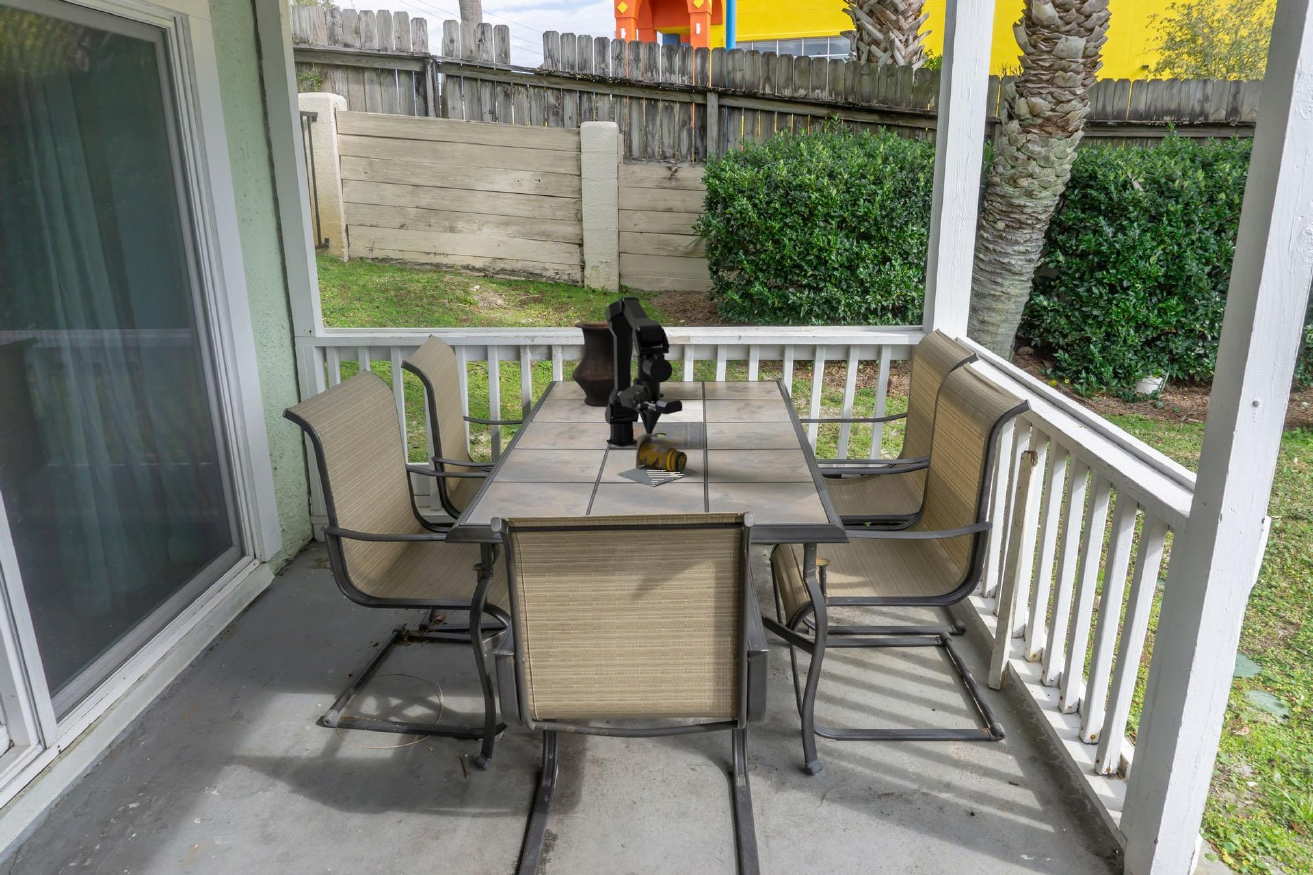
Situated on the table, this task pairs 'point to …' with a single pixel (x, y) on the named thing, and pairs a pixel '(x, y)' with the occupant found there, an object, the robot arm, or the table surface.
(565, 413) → the table surface
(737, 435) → the table surface
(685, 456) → the condiment
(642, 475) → the mat
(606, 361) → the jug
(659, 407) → the robot arm
